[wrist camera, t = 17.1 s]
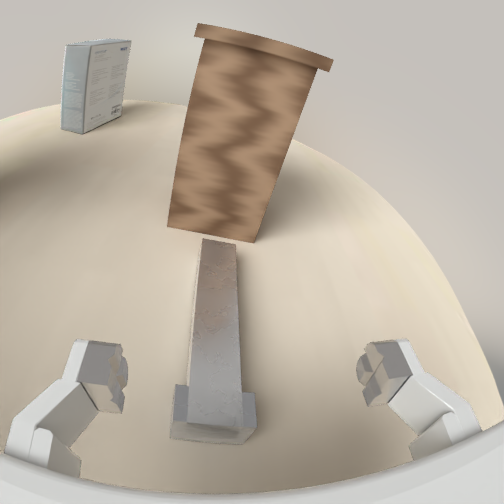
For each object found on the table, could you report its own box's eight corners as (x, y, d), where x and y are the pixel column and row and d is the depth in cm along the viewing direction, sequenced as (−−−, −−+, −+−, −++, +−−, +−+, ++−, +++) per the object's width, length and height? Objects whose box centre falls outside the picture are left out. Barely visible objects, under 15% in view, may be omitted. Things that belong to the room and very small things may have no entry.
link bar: (194, 236, 36) (188, 265, 39) (172, 420, 19) (169, 438, 21) (244, 246, 37) (235, 273, 40) (257, 427, 20) (242, 444, 22)
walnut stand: (158, 229, 40) (197, 23, 23) (174, 182, 50) (209, 25, 33) (261, 249, 43) (333, 59, 26) (256, 199, 52) (308, 50, 36)
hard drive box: (98, 111, 67) (108, 38, 55) (121, 116, 67) (134, 40, 55) (58, 129, 55) (65, 43, 43) (82, 135, 55) (91, 44, 43)
